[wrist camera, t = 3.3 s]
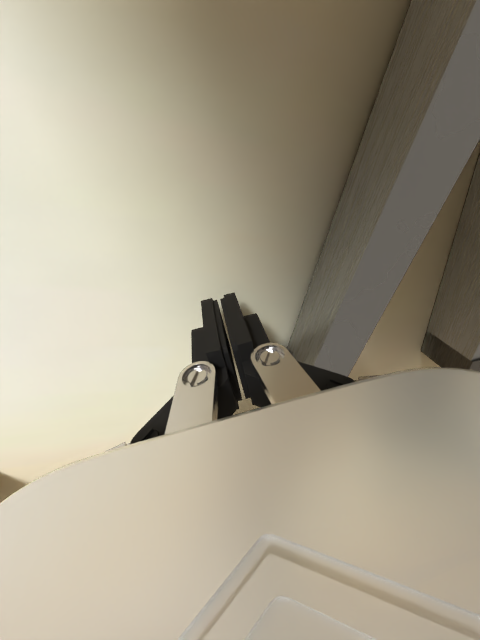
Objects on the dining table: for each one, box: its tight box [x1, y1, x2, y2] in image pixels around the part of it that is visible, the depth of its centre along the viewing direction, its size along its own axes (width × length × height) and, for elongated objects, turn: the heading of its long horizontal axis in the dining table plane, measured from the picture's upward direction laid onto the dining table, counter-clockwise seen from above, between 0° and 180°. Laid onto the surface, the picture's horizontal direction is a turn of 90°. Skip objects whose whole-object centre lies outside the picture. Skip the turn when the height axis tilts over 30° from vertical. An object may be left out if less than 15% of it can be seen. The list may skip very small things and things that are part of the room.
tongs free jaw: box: [287, 0, 480, 377], centre depth 10 cm, size 22×3×3 cm, turn 169°
